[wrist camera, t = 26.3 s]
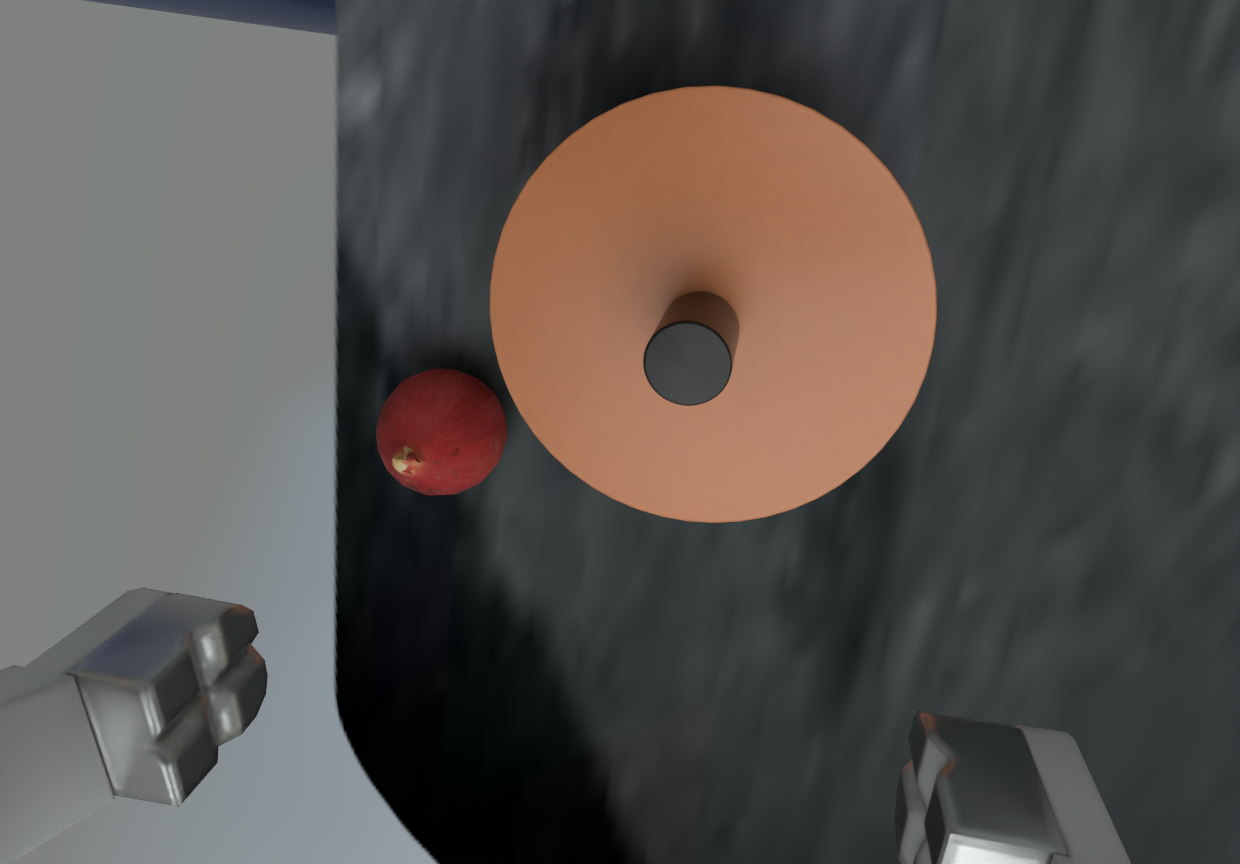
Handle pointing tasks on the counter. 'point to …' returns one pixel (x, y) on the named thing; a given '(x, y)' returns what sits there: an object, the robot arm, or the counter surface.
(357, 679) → the counter surface
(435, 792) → the counter surface
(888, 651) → the counter surface
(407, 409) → the onion
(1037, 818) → the robot arm
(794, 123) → the lid
